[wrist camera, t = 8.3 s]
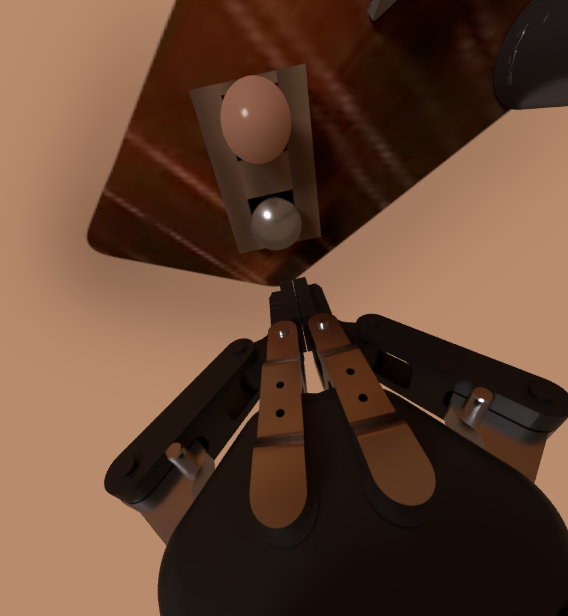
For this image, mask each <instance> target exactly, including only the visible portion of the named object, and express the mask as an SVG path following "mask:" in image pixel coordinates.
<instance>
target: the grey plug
mask: <svg viewBox="0 0 568 616" xmlns="http://www.w3.org/2000/svg"><path fill="white" fill-rule="evenodd" d="M301 227H302V222H301V217H300V214H299V212H298V210H297V208H296V207H295V206H294V205H293V204H292V203H291V202H290V201H288V200H286V198H285V196H284V195H283V194H282V193H280V192H279V193H274V194H269V195H265V196H260V197H259V199H258V202H257V207H256V208H255V210H254V212H253V214H252V218H251V230H252V233H253V236H254V238H255V239H256V241H257V242H258V243H259V244H260V245H261V246H263V247H265V248H267V249H270V250H282V249H285V248H287V247H289V246H291V245H292V244H293V243H294V242H295V241H296V240H297V238H298V237H299V235H300V232H301Z"/></svg>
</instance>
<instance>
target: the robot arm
mask: <svg viewBox="0 0 568 616" xmlns="http://www.w3.org/2000/svg"><path fill="white" fill-rule="evenodd" d="M494 88H495V92H496V96H497V98H498V100H499V101H500V103H501V104H503V105H504V106H505V107H507V108H509V109H514V110H522V109H535V108H547V107H563V106H568V0H532V1H531V2H530V3H529V4H528V5H527V6H526V7H525V9H524V10H523V11H522V12H521V14H520V15H519V16H518V18H517V19H516V20H515V22H514V23H513V25H512V27H511V28H510V30H509V32H508V34H507V35H506V38H505V40H504V42H503V44H502V46H501V49H500V52H499V55H498V58H497V61H496V66H495V72H494ZM293 283H294V287H293ZM293 283H292V280H288V281H283V282H280V289H281V291H278V292H272V294H271V296H270V298H269V303H270V317H271V327H270V328H269V330H268V335H267V336H266V337H264V338H263V339H261V340H259V341H257V342H254V343H253V342H252V341H251V340H249V339H245V338H244V339H238V340H235V341H234V342H232V343H231V344H229V345H228V347H226V348H225V349H224V350H223V351H222V352H221V353H220V354H219V355H218V356H217V357H216V358H215V359H214V360H213V361H212V362H211V364H209V365H208V367H207V368H206V369H204V370H203V371H202V373H200V375H199V376H197V377H196V378H195V379H194V381H192V383H190V385H188V387H186V388H185V389H184V390H183V392H182V393H181V394H180V395H179V396H178V397H177V398H176V399H175V400H174V401H173V402H172V403H171V404H170V405H169V406H168V407H167V408H166V409H165V410H164V411H163V412H162V413H161V414H160V415H159V416H158V417H157V418H156V419H155V420H154V421H153V422H152V423H151V424H150V425H149V426H148V427H147V428H146V429H145V430H144V431H143V432H142V433H141V434H140V435H139V436H138V437H137V438H136V439H135V440H134V441H133V442H132V443H131V444H130V445H129V446H128V447H127V448H126V449H125V450H124V451H123V452H122V453H121V454H120V455H119V456H118V457H117V458H116V459H115V460H114V461H113V463H112V464H111V465H110V467H109V469H108V471H107V473H106V476H105V480H104V485H105V489H106V491H107V492H108V493H109V494H111V495H113V496H115V497H117V498H118V499H120V500H121V501H122V502H123V503H124V504H126V505H127V506H129V507H131V508H133V509H135V510H137V511H139V512H140V513H141V514H142V516H143V517H144V518H145V519H146V520H147V522H148V523H149V524H150V525H151V527H152V528H153V529H154V531H155V532H156V533H157V534H158V536H159V537H160V538H161V539H162V541H163V542H164V543H165V544H166V545H167V546H166V549H165V552H164V555H163V558H162V562H161V566H160V571H159V578H158V602H159V610H160V616H568V529H567V527H566V525H565V523H564V521H563V519H562V518H561V516H560V514H559V513H558V511H557V509H556V508H555V507H554V505H553V504H552V503H551V501H550V500H549V499H548V498H547V497H546V495H545V494H544V493H543V492H542V491H541V490H540V489H539V488H538V487H537V486H536V485H535V484H534V482H535V479H536V475H537V471H538V468H539V464H540V461H541V457H542V454H543V450H544V447H545V443H546V440H547V439H548V438H549V437H550V436H551V435H552V434H553V433H554V432H555V431H556V430H557V429H558V427H560V426H561V424H562V423H563V422H564V421H565V420H566V419H567V418H568V393H567V392H566V391H565V390H564V389H563V388H561V387H560V386H558V385H557V384H555V383H553V382H551V381H549V380H547V379H544V378H542V377H539V376H536V375H534V374H531V373H528V372H526V371H523V370H521V369H518V368H516V367H513V366H510V365H508V364H505V363H503V362H500V361H497V360H495V359H492V358H490V357H487V356H485V355H482V354H479V353H477V352H474V351H471V350H469V349H466V348H464V347H461V346H459V345H456V344H453V343H451V342H448V341H446V340H443V339H440V338H438V337H435V336H433V335H430V334H427V333H425V332H422V331H419V330H417V329H414V328H412V327H409V326H407V325H404V324H401V323H399V322H396V321H394V320H391V319H389V318H386V317H383V316H381V315H378V314H366V315H363V316H361V317H359V318H358V319H357V321H356V323H353V322H342V321H340V320H337V318H336V317H335V316H334V315H332V313H331V310H330V308H329V305H328V303H327V300H326V298H325V295H324V293H323V290H322V288H321V287H320V286H319V285H317V284H311V285H308V284H307V281H306V278H305V277H303V278H298V279H293ZM294 289H295V292H294ZM295 294H296V296H295ZM296 299H297V300H296ZM302 327H303V329H302ZM303 332H304V334H303ZM304 336H305V339H304ZM305 340H306V345H307V349H308V351H312V352H313V357H314V362H315V366H316V369H317V372H318V375H319V377H320V380H321V383H322V386H323V389H324V391H322V392H320V393H316V394H315V393H307V385H306V375H305V366H304V354H303V353H304V352H307V350H306V345H305ZM387 353H389V354H391V355H393V356H395V357H397V358H400V359H402V360H404V361H406V362H407V363H405V362H404V361H401V360H399V359H397V358H395V357H393V356H391V355H389V354H387ZM380 383H381V384H383V385H384V386H386V387H388V388H390V389H391V390H393V391H395V392H396V393H398V394H400V395H402V396H403V397H405V398H407V399H408V400H410V401H412V402H414V403H415V404H417V405H419V406H420V407H422V408H424V409H426V410H427V411H429V412H431V413H433V414H434V415H436V416H438V417H439V418H441V419H443V420H445V424H446V425H444V424H443V423H441V422H440V421H438V420H436V419H435V418H433V417H432V416H430V415H428V414H427V413H425V412H424V411H422V410H420V409H419V408H417V407H416V406H414V405H412V404H411V403H409V402H408V401H406V400H404V399H403V398H401V397H400V396H398V395H396V394H394V393H392V392H390V391H388V390H385V389H383V388H382V387H381V385H380ZM259 399H260V405H259V411H258V412H257V413H255V414H254V415H253V416H252V417H251V418H250V420H249V421H248V422H247V423H246V425H245V426H244V428H243V429H242V431H241V432H240V434H239V435H238V437H237V438H236V440H235V441H234V443H233V444H232V445H231V447H230V448H229V450H228V451H227V453H226V454H225V456H224V457H223V459H222V460H221V462H220V463H219V465H218V466H217V467H216V469H215V464H214V460H215V459H216V457H217V456H218V455H219V453H220V452H221V450H222V449H223V448H224V446H225V445H226V444H227V442H228V441H229V440H230V438H231V437H232V436H233V434H234V433H235V432H236V430H237V429H238V427H239V426H240V425H241V423H242V422H243V421H244V419H245V418H246V417H247V415H248V414H249V413H250V411H251V410H252V408H253V407H254V406H255V404H256V403H257V401H258V400H259Z"/></svg>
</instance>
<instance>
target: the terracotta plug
mask: <svg viewBox="0 0 568 616" xmlns="http://www.w3.org/2000/svg"><path fill="white" fill-rule="evenodd" d="M220 120H221V127H222V132H223V135H224V137H225V140H226V142H227V144H228V145H229V147H230V148H231V150H232V151H233V152H234V153H235V154H236V155H237V156H238V157H240V158H241V159H243V160H244V161H247V162H249V163H253V164H263V163H267V162H270V161H272V160H273V159H275V158H276V157H277V156H279V155H280V153H281V152H282V151H283V150H284V148H285V146H286V144H287V142H288V140H289V136H290V132H291V114H290V109H289V105H288V103H287V100H286V98H285V96H284V95H283V93H282V92H281V90H280V89H279V88H278V87H277V86H276V85H275V84H274V83H273V82H272V81H270V80H268V79H266V78H264V77H261V76H253V75H252V76H246V77H243V78H241V79H239V80H237V81H236V82H235V83H234V84H233V85H232V86H231V87H230V88H229V89H228V91H227V93H226V95H225V96H224V99H223V102H222V106H221V114H220Z"/></svg>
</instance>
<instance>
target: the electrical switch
mask: <svg viewBox="0 0 568 616" xmlns="http://www.w3.org/2000/svg"><path fill="white" fill-rule="evenodd" d="M396 1H397V0H372V1H371V2H370V5H369V7H368V10H367V12H368V14H369V15H370V17H371V19H372V20H373V21H374V20H376V19H377V18H379V17H380V16H381V15H382V14H383V13H384V12H385V11H386V10H387V9H388V8H389V7H390V6H391V5H392V4H393V3H395V2H396Z"/></svg>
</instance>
